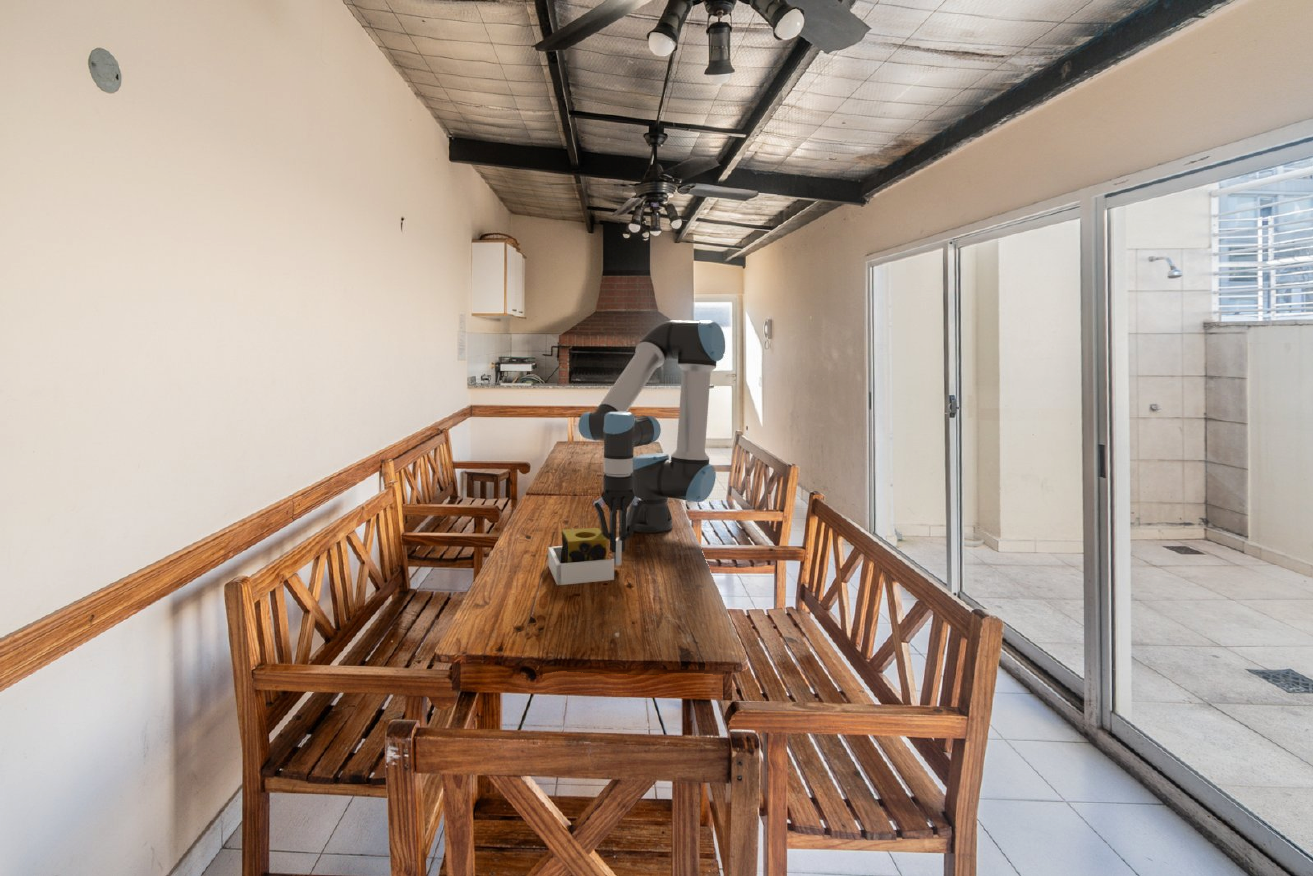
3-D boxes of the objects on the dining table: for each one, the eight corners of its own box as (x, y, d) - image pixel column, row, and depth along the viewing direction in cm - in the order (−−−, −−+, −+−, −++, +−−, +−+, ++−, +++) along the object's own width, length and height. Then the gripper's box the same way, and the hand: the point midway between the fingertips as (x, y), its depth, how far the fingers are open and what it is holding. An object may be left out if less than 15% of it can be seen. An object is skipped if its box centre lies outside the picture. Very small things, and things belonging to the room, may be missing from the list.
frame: (600, 560, 169) (601, 542, 169) (613, 579, 156) (614, 560, 156) (548, 565, 165) (548, 547, 164) (557, 585, 152) (557, 565, 151)
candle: (560, 566, 164) (560, 529, 163) (598, 563, 167) (599, 526, 166) (566, 581, 155) (566, 541, 153) (607, 577, 158) (607, 538, 156)
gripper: (638, 469, 165) (637, 556, 169) (589, 471, 161) (589, 561, 165) (647, 475, 158) (645, 566, 162) (596, 477, 154) (595, 571, 158)
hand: (617, 563), depth 163 cm, fingers closed
